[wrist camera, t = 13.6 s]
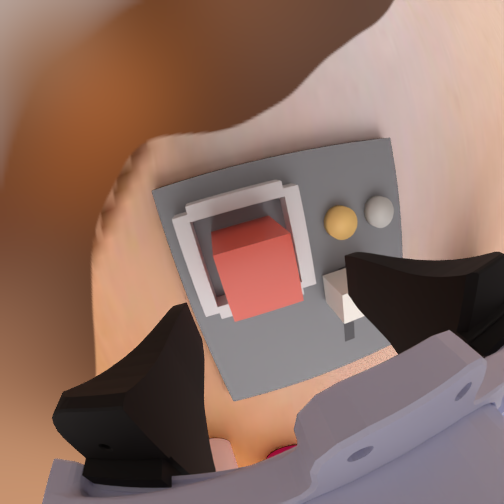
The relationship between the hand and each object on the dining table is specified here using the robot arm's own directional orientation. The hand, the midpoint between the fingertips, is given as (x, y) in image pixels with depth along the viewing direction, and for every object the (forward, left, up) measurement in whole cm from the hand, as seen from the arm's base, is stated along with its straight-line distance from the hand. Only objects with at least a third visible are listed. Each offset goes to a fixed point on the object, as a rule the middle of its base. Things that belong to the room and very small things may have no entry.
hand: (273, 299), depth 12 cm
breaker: (-7, +5, -7) cm, 11 cm away
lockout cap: (0, 0, -8) cm, 8 cm away
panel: (-4, +4, -9) cm, 11 cm away
